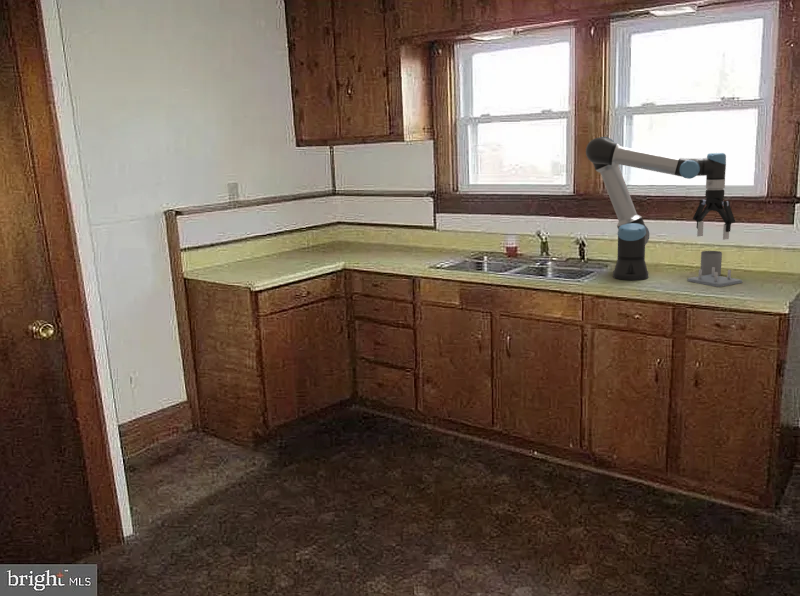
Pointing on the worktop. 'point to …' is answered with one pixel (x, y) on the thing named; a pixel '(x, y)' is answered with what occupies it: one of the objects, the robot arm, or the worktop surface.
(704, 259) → the cup
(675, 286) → the worktop surface
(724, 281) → the grey pegged base plate
